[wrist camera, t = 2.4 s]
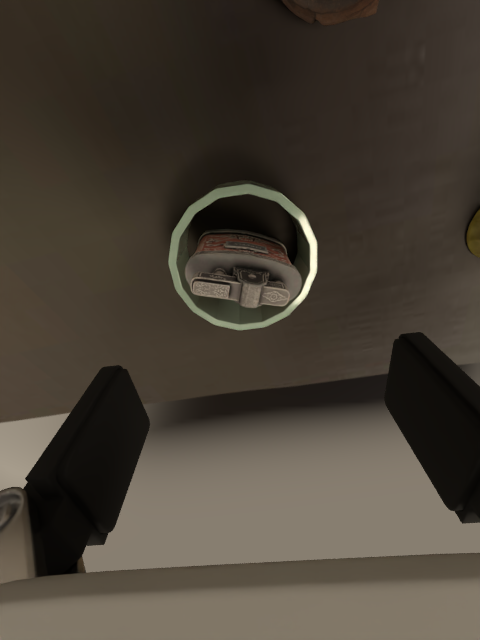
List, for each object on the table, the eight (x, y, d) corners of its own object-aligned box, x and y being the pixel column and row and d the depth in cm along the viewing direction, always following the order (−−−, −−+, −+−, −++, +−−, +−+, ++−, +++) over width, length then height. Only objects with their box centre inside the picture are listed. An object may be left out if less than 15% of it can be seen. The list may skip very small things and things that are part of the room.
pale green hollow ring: (196, 310, 28) (188, 336, 24) (166, 192, 23) (149, 198, 18) (304, 296, 27) (317, 321, 23) (302, 171, 22) (318, 173, 18)
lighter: (289, 237, 24) (317, 278, 16) (281, 272, 26) (302, 327, 18) (200, 223, 24) (178, 258, 15) (197, 260, 26) (176, 310, 17)
